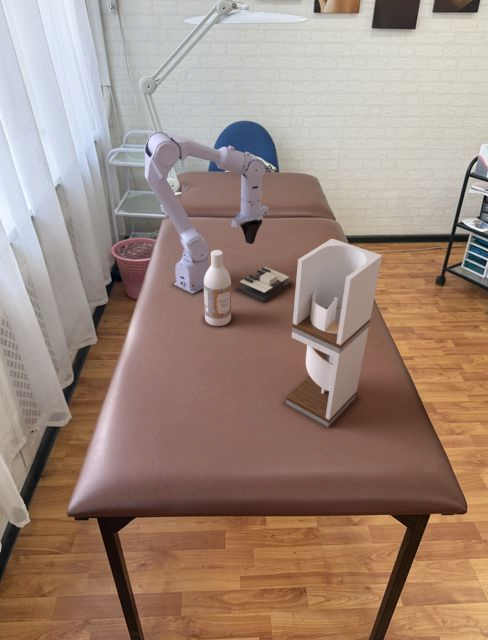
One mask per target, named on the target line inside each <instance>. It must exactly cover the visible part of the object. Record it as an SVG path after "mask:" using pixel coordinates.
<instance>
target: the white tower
mask: <svg viewBox="0 0 488 640" xmlns="http://www.w3.org/2000/svg"><path fill="white" fill-rule="evenodd" d="M382 259H383V255H382V254H379V253H376V252H374V251H371V250H368V249H366V248H362V247H358V246H356V245H352V244H350V243H347V242H343V241H341V240H338V239H335V238H330V239H328V240H327V241H326V242H323V243H322V244H320V245H319V246H317V247H316V248H314V249H313V250H311V251H309V252H308V253H305V254H304V255H303V256H301V257H299V258H297V269H296V270H297V271H296V279H295V280H296V281H295V290H294V292H295V293H294V302H293V303H294V304H293V314H292V315H293V316H292V326H291V338H292V339H294V340H296V341H298V342H301V343H302V344H305V345H306V352H305V353H306V354H305V368H306V371H307V374H308V377H306V378H305V379H304V380H303V381H302V382H301V383H300V384H299V385H297V386H296V387H295V388H294V389H293V390H292V391H290V393H289V394H288V395H287V396H286V399H285V404H286V405H288V406H289V407H292V408H293V409H295V410H297V411H299V412H300V413H302V414H304V415H305V416H308V417H309V418H311V419H313V420H315V421H316V422H318V423H321V424H322V425H323V426H325V427H327V428H328V427H330V426H331V424H333V423H334V422H335V421H336V419H338V417H339V416H340V415H341V414H342V413H343V412H344V411H345V410H346V408H348V407H349V405H351V404H352V402H353V401H354V400H355V399H356V398H357V392H358V387H359V381H360V377H361V376H360V375H361V370H362V367H363V361H364V355H365V351H366V344H367V339H368V333H369V328H370V323H371V318H372V313H373V308H374V301H375V298H376V297H375V296H376V291H377V286H378V285H377V284H378V281H379V274H380V270H381V265H382Z"/></svg>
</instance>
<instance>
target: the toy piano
mask: <svg viewBox="0 0 488 640" xmlns="http://www.w3.org/2000/svg"><path fill="white" fill-rule="evenodd" d="M262 275H263V274H260V273H258V274H256V275H255V277H257V278H258V279H257V281H260V276H262ZM291 283H292V281H290V280H288V279H285V280H284V281H282V282H280V281H278V280H277V282H276V283H274V284H272V285H271V287H273V288H271V289H270V290H268V289H267V290H268V291H266V292H265V293H264V292H262V291H259V290H257V289H255V288H253V287H250V286H248V285H246V284H244V283H241V284H239V285H238V286H236V291H237V292H239V293H240V294H243V295H246V296H247V297H249V298H252V299H253V300H256V301H258V302H259V303H263V304H264V303H266V302H268V301H269V300H270V299H272V298H273V297H275V296H277V295H278V294H280V293H281V292H282V291H284V290H286V289H287V288H289V287H290V286H291ZM258 286H259V285H258Z"/></svg>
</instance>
